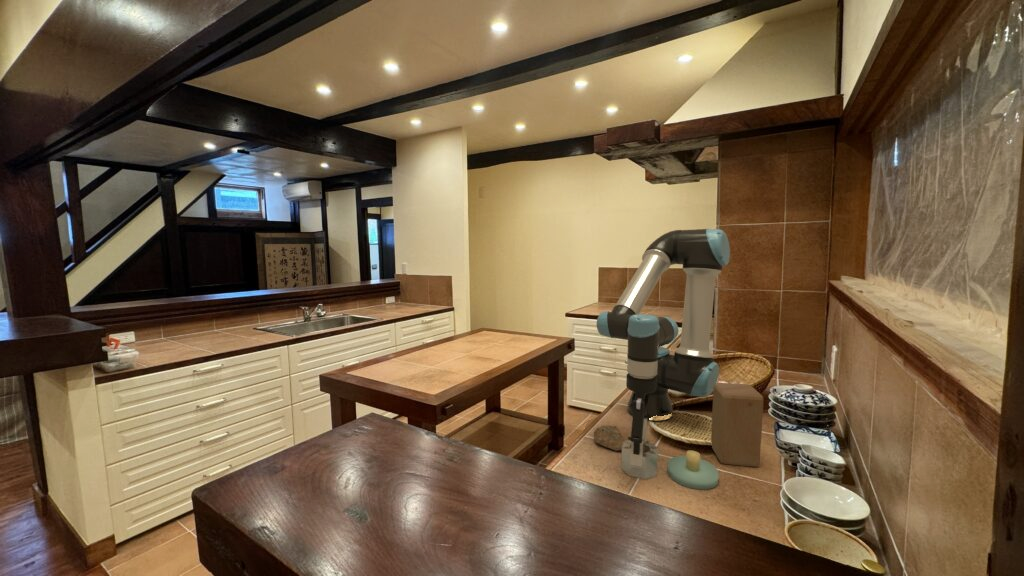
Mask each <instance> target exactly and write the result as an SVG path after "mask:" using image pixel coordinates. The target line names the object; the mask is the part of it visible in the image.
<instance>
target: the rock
mask: <svg viewBox="0 0 1024 576" xmlns="http://www.w3.org/2000/svg"><path fill="white" fill-rule="evenodd" d="M593 433H594V434H593V435H594V442H595V443H596V444H599V445H600V446H603V447H605V448H607V449H611V450H613V451H616V452H618V451H622V446H623V442H624V441H626V440H625V438H624V437H623V436H622V432H621V430H620V429H619V428H618V427H617V425H613V426H612V425H603V426H599V427H596V429H595V431H594V432H593Z"/></svg>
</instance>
